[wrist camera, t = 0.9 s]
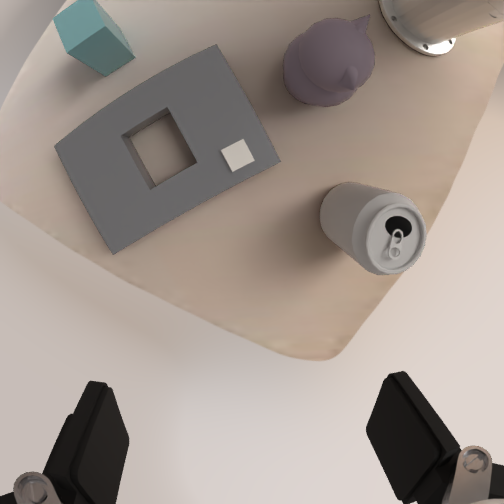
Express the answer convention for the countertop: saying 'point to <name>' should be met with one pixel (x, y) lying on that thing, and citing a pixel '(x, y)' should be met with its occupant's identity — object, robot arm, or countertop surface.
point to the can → (374, 227)
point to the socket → (194, 132)
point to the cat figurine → (329, 61)
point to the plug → (93, 37)
